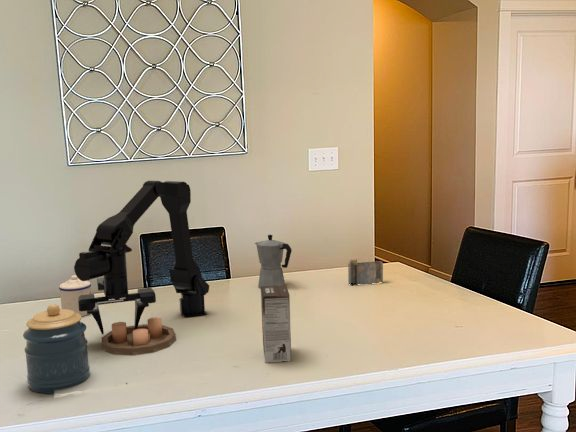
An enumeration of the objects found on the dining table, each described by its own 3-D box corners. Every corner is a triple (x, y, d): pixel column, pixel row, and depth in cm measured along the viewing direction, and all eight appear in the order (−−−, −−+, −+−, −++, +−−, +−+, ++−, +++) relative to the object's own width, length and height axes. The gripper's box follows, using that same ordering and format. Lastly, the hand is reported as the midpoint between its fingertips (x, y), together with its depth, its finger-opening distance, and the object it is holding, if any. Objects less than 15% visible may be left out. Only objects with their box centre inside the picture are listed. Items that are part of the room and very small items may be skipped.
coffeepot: (248, 287, 214) (245, 235, 212) (266, 281, 221) (264, 230, 219) (283, 293, 205) (281, 239, 202) (300, 287, 212) (299, 234, 209)
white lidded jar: (89, 317, 185) (86, 278, 184) (57, 319, 184) (54, 280, 183) (97, 305, 197) (95, 269, 195) (67, 307, 196) (64, 270, 194)
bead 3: (163, 337, 163) (162, 320, 163) (149, 339, 162) (148, 322, 162) (161, 333, 167) (160, 316, 166) (147, 334, 166) (146, 318, 165)
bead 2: (147, 345, 158) (146, 327, 157) (149, 349, 155) (148, 332, 154) (133, 347, 157) (132, 329, 156) (134, 351, 153) (133, 334, 153)
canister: (90, 389, 134) (83, 309, 132) (24, 398, 131) (16, 316, 128) (90, 367, 147) (85, 293, 144) (31, 375, 143) (24, 299, 140)
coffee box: (262, 349, 155) (260, 285, 153) (288, 347, 156) (286, 284, 153) (264, 363, 146) (261, 295, 144) (292, 361, 147) (290, 294, 144)
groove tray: (169, 329, 172) (168, 320, 172) (180, 351, 155) (180, 341, 155) (100, 338, 166) (99, 329, 166) (104, 362, 149) (103, 351, 149)
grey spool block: (350, 287, 212) (350, 259, 210) (348, 285, 215) (348, 257, 213) (383, 285, 213) (383, 257, 212) (380, 283, 216) (380, 255, 215)
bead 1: (127, 342, 161) (126, 325, 160) (113, 344, 159) (112, 327, 159) (126, 337, 164) (125, 321, 163) (112, 339, 163) (111, 322, 162)
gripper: (148, 262, 169) (152, 318, 172) (75, 269, 163) (80, 327, 166) (154, 270, 159) (157, 330, 161) (76, 278, 153) (81, 340, 155)
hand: (119, 331), depth 161 cm, fingers open, 8 cm apart
